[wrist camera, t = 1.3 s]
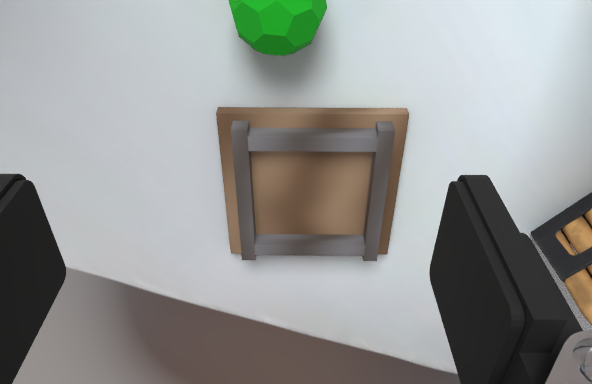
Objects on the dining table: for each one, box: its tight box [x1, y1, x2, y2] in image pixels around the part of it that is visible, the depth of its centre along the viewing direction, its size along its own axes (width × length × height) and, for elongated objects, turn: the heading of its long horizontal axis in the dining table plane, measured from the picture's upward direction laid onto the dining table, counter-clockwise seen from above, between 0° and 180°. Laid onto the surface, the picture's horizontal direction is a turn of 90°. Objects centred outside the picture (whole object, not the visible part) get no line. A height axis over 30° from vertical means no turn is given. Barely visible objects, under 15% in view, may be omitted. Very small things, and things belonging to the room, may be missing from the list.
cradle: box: [216, 107, 409, 261], centre depth 34 cm, size 12×12×2 cm
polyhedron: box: [229, 0, 327, 56], centre depth 25 cm, size 5×5×5 cm
